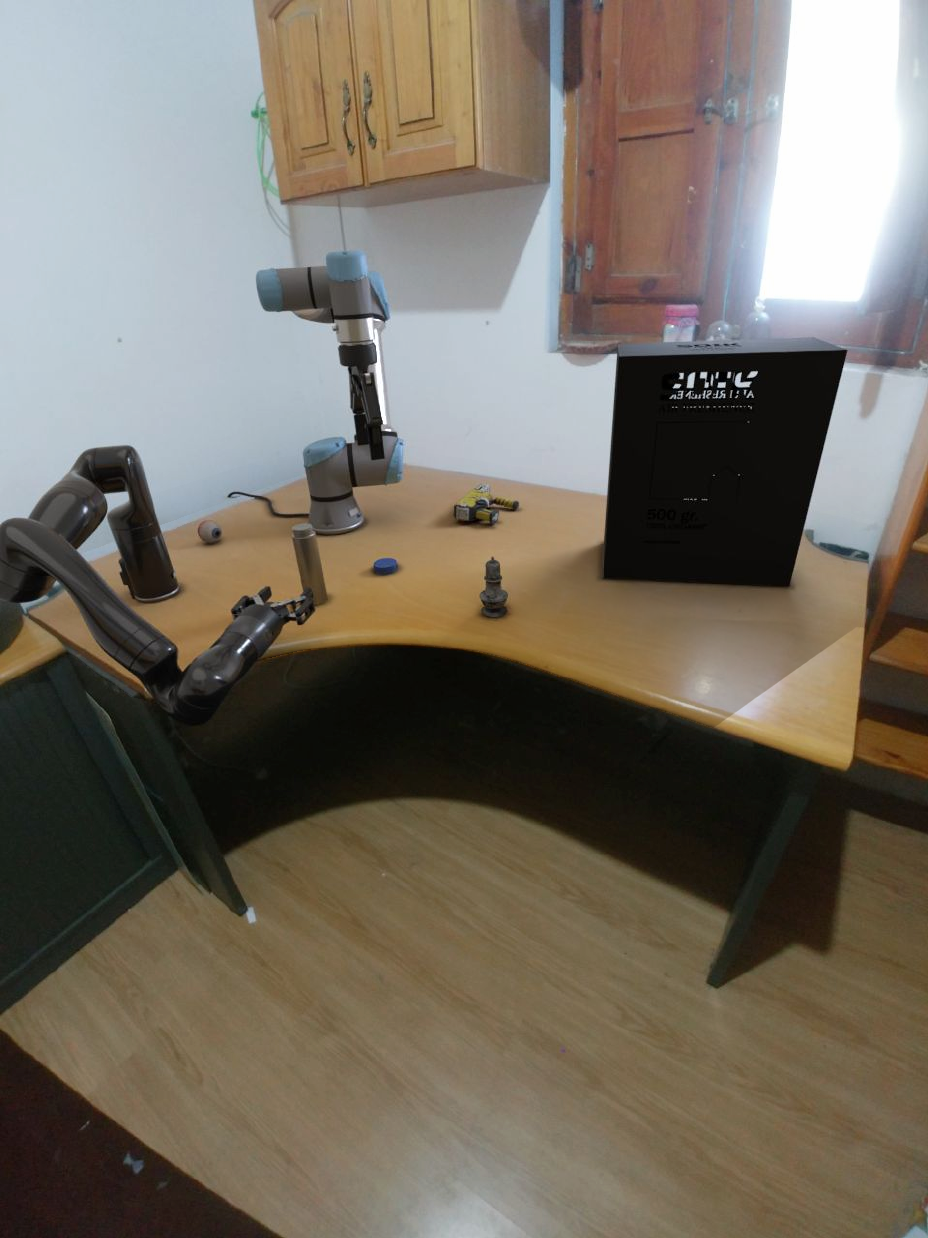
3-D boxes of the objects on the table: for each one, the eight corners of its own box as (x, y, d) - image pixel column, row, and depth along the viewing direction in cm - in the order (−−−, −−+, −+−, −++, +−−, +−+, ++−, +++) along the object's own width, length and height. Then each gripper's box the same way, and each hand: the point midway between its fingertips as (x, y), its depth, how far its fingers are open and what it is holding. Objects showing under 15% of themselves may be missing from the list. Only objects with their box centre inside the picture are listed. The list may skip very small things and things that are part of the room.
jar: (321, 593, 133) (307, 520, 125) (331, 600, 130) (318, 526, 122) (301, 600, 131) (286, 526, 122) (311, 607, 128) (296, 532, 119)
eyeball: (211, 547, 159) (205, 526, 156) (196, 543, 162) (190, 522, 159) (229, 539, 163) (224, 518, 160) (214, 536, 166) (209, 515, 164)
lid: (376, 576, 139) (375, 569, 138) (372, 567, 144) (371, 560, 143) (400, 572, 141) (399, 565, 140) (395, 563, 145) (394, 556, 144)
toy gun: (527, 488, 179) (479, 481, 183) (505, 513, 159) (452, 504, 162) (525, 503, 181) (478, 496, 185) (503, 529, 161) (451, 520, 165)
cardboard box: (767, 547, 142) (813, 337, 119) (789, 586, 125) (847, 349, 102) (603, 542, 149) (617, 343, 127) (603, 578, 132) (618, 356, 110)
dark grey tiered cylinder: (506, 618, 119) (505, 563, 113) (477, 616, 120) (474, 562, 114) (510, 604, 124) (509, 550, 118) (482, 602, 125) (480, 549, 119)
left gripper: (218, 651, 107) (260, 606, 121) (293, 655, 105) (327, 609, 118) (207, 614, 103) (251, 572, 117) (284, 618, 101) (320, 575, 114)
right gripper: (327, 339, 127) (342, 441, 138) (350, 350, 107) (365, 468, 117) (362, 336, 129) (374, 437, 140) (391, 346, 109) (403, 463, 119)
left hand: (289, 591), depth 118 cm, fingers open, 8 cm apart
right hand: (370, 451), depth 129 cm, fingers open, 13 cm apart
